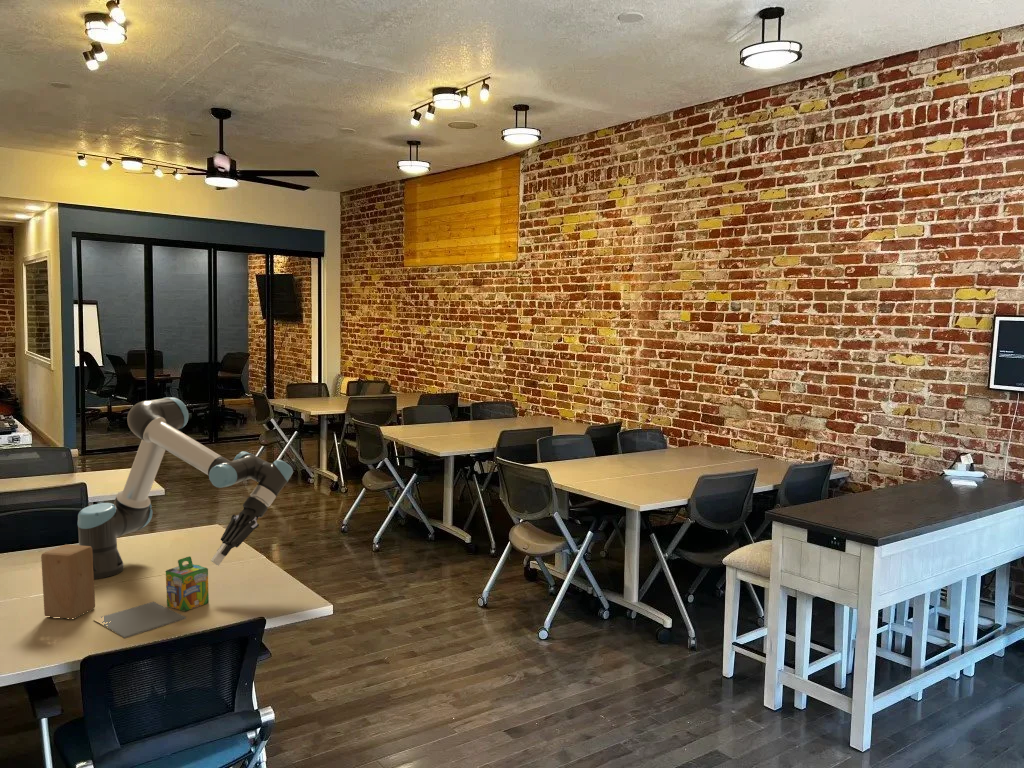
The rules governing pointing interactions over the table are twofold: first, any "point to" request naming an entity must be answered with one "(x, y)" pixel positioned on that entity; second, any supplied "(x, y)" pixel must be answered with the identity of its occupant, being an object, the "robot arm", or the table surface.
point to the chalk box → (187, 586)
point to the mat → (141, 619)
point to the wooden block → (68, 581)
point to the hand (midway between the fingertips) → (214, 563)
